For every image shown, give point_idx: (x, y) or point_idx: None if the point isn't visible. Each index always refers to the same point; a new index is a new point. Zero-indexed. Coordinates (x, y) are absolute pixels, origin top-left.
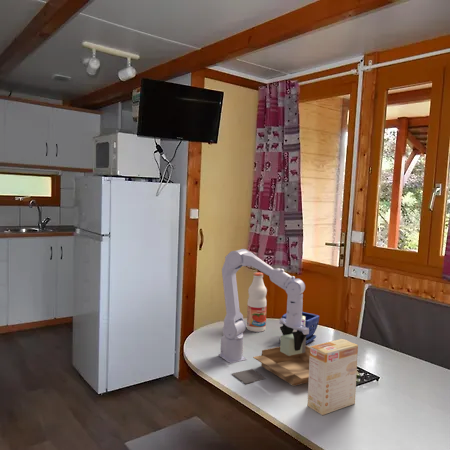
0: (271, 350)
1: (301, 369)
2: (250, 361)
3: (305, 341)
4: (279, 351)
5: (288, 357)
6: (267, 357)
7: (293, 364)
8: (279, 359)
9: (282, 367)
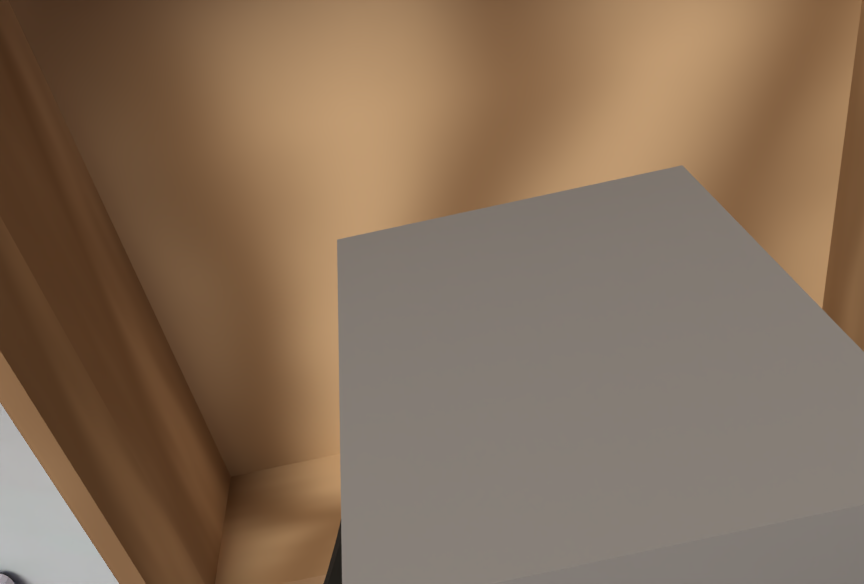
0: (145, 549)
1: (469, 38)
2: (40, 541)
3: (852, 355)
4: (80, 378)
5: (26, 98)
6: (194, 515)
7: (239, 72)
8: (116, 284)
9: None
